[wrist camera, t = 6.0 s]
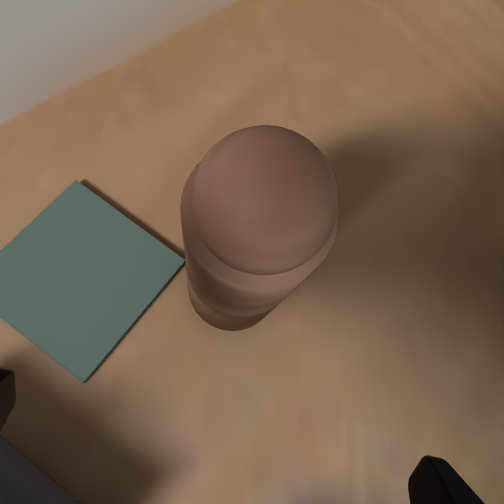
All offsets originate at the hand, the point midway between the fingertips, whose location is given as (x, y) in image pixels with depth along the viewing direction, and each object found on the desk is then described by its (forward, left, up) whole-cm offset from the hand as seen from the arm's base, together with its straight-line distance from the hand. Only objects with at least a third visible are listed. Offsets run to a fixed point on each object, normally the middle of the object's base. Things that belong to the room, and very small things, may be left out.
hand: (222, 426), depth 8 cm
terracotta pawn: (+3, -6, -12) cm, 14 cm away
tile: (+10, -1, -12) cm, 16 cm away
